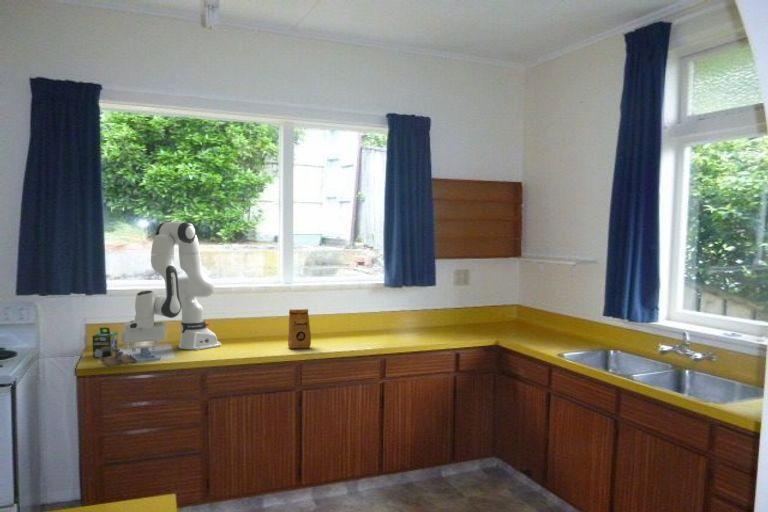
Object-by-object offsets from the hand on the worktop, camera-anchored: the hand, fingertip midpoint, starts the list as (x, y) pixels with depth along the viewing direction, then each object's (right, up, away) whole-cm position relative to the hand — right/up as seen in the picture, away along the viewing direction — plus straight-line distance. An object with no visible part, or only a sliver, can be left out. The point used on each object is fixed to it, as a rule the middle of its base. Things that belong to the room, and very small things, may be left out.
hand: (143, 350), depth 274 cm
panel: (0, -4, +1) cm, 4 cm away
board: (-10, -4, -6) cm, 13 cm away
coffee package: (+73, -4, +32) cm, 80 cm away
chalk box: (-22, -4, +5) cm, 23 cm away
